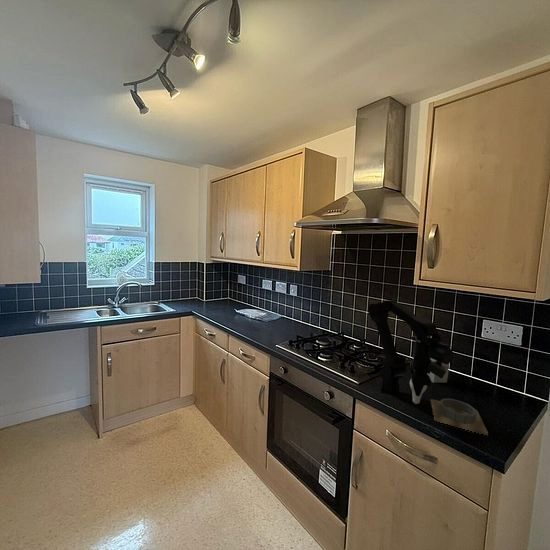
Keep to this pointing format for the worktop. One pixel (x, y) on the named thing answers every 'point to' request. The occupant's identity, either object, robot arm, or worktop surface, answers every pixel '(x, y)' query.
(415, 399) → the lightbulb
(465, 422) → the socket board
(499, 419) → the worktop surface
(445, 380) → the supplement box
